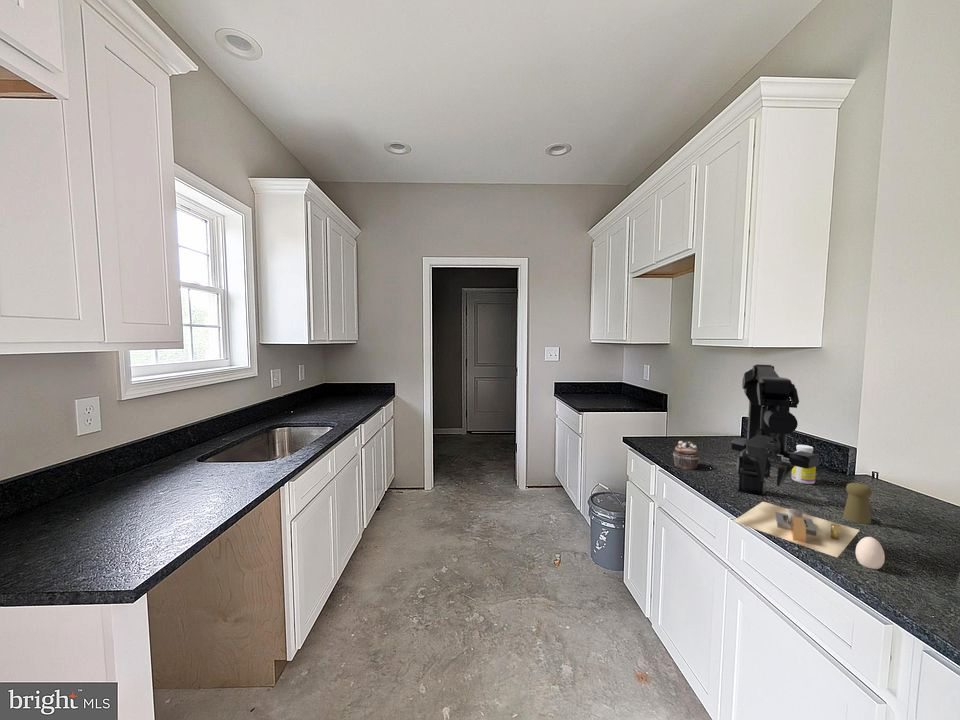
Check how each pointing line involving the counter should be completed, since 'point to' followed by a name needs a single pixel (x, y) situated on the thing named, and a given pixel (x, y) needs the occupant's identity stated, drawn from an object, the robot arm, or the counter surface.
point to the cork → (858, 503)
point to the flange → (796, 526)
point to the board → (766, 522)
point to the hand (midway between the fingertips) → (770, 483)
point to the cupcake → (686, 455)
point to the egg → (870, 553)
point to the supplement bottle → (804, 469)
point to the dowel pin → (834, 531)
